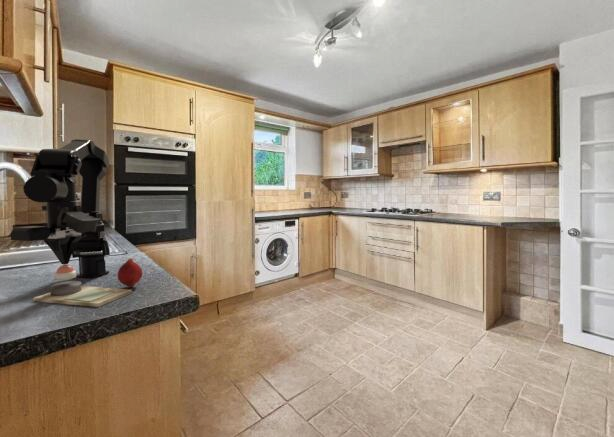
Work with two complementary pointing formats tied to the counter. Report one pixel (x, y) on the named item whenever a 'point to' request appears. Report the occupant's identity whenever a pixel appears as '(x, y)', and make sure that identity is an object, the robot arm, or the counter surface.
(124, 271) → the onion
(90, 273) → the robot arm
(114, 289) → the board
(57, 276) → the button
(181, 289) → the counter surface
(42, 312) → the counter surface
